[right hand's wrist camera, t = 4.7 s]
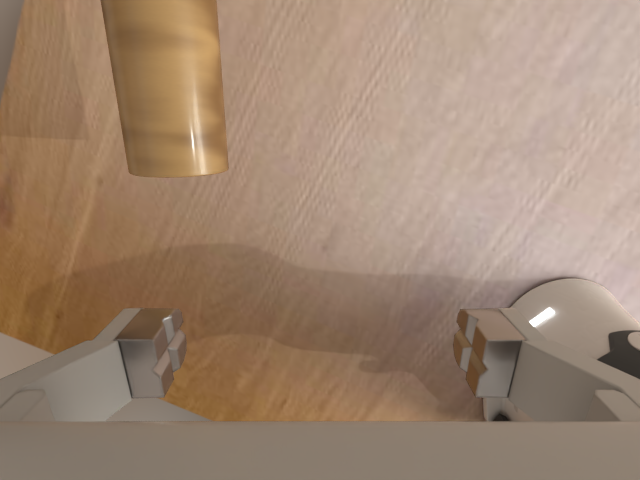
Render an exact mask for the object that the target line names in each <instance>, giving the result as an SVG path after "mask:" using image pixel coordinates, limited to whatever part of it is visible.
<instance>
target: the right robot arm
mask: <svg viewBox="0 0 640 480" xmlns="http://www.w3.org/2000/svg"><path fill="white" fill-rule="evenodd" d="M182 323H183V317H182V312H181V311H180V310H179V309H164V308H126V309H123V310H122V311H121V312H120V313H119V314H118V315H117V316H116V317H115V318H114V319H113V320H112V321H111V322H110V323H109V324H108V325H107V326H106V327H105V328H104V329H103V330H102V331H101V332H100V333H99V334H98V335H97V336H96V337H95V338H94V339H93V340H92V341H85V342H82V343H80V344H78V345H76V346H73V347H71V348H69V349H67V350H64V351H62V352H60V353H58V354H55V355H53V356H51V357H49V358H47V359H44V360H42V361H40V362H38V363H35V364H33V365H31V366H29V367H27V368H24V369H22V370H20V371H17V372H15V373H13V374H11V375H9V376H6V377H4V378H2V379H0V480H640V323H639V322H638V321H637V320H635V319H634V318H633V317H632V316H631V315H630V314H629V313H628V312H627V311H626V310H625V309H624V308H623V307H622V306H621V305H620V304H619V302H618V301H617V300H616V299H615V298H614V296H613V295H612V294H611V293H610V292H609V291H608V290H607V289H606V288H604V287H603V286H601V285H599V284H597V283H595V282H592V281H589V280H584V279H575V278H569V279H560V280H555V281H551V282H548V283H545V284H543V285H540V286H538V287H536V288H534V289H532V290H531V291H529V292H527V293H526V294H525V295H523V296H522V297H521V298H519V299H518V300H517V301H516V302H515V303H514V304H513V305H512V306H511V307H510V308H492V309H460V311H459V313H458V317H457V323H458V325H459V327H460V328H461V329H460V330H459V331H458V332H457V333H456V334H455V335H454V343H453V347H454V355H455V359H456V362H457V364H458V366H459V367H460V368H461V369H462V370H464V371H465V372H467V375H466V380H467V382H468V384H469V386H470V388H471V389H472V391H473V393H474V395H475V397H479V398H483V412H484V418H485V420H486V421H106V420H107V419H108V418H110V417H111V416H112V415H113V414H115V413H116V412H117V411H119V410H120V409H121V408H122V407H124V406H125V405H126V404H127V403H129V402H130V401H131V400H132V398H160V397H165V395H166V393H167V391H168V389H169V388H170V386H171V384H172V382H173V380H174V375H173V372H175V371H176V370H178V369H179V368H180V367H181V365H182V363H183V362H184V359H185V354H186V344H187V342H186V335H185V334H184V333H183V332H182V331H181V330H180V329H179V328H180V327H181V325H182Z"/></svg>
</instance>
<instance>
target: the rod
mask: <svg viewBox="0 0 640 480" xmlns="http://www.w3.org/2000/svg"><path fill="white" fill-rule="evenodd" d="M101 5H102V11H103V18H104V24H105V30H106V36H107V42H108V48H109V54H110V60H111V67H112V73H113V79H114V85H115V91H116V97H117V103H118V109H119V115H120V122H121V128H122V134H123V140H124V146H125V152H126V158H127V164H128V170H129V173H130V174H132V175H136V176H143V177H193V176H204V175H212V174H218V173H222V172H225V171H227V170H228V168H229V167H228V153H227V139H226V126H225V112H224V98H223V84H222V70H221V56H220V43H219V29H218V15H217V1H216V0H101Z"/></svg>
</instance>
